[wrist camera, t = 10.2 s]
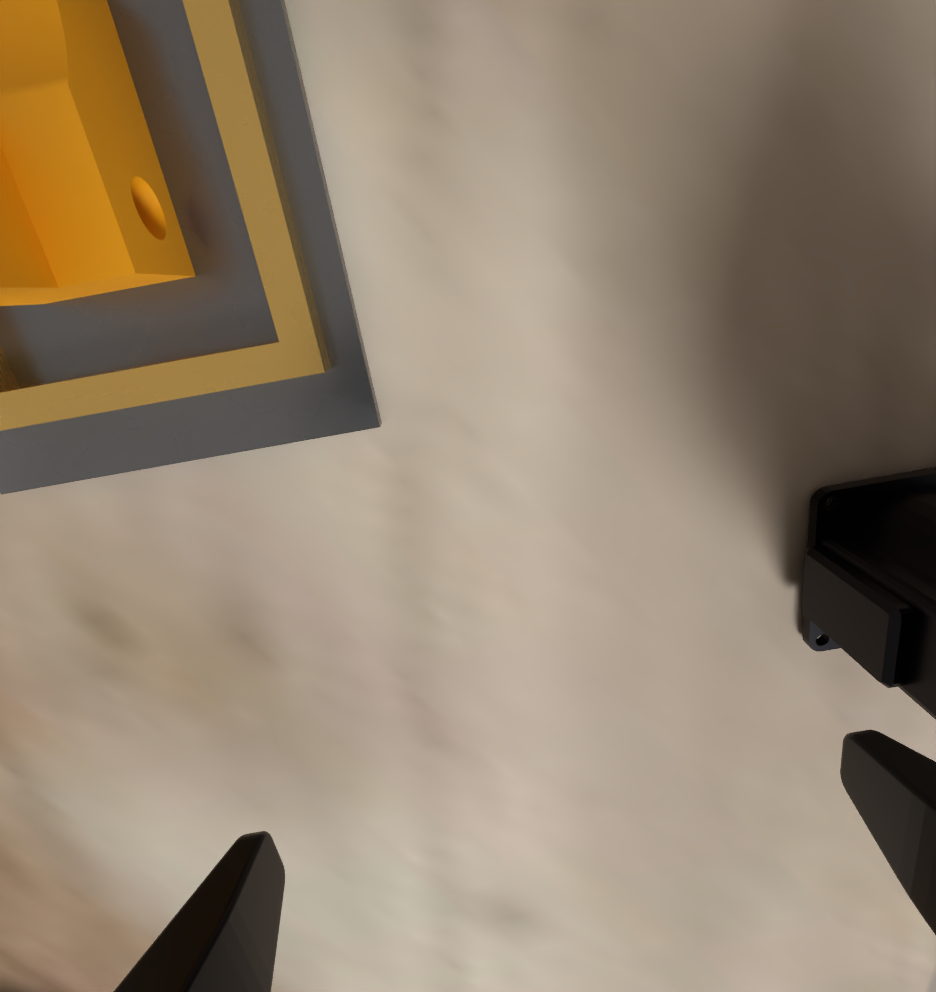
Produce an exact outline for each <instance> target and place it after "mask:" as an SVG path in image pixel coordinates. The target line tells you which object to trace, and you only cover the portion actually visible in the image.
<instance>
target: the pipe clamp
mask: <svg viewBox="0 0 936 992" xmlns="http://www.w3.org/2000/svg"><path fill="white" fill-rule="evenodd" d="M194 276H196V275H195V272H194V269H193V266H192V263H191V260H190V257H189V254H188V251H187V247H186V244H185V241H184V238H183V235H182V232H181V229H180V226H179V223H178V220H177V216H176V213H175V210H174V207H173V204H172V201H171V198H170V195H169V192H168V188H167V185H166V182H165V179H164V176H163V173H162V170H161V167H160V164H159V161H158V157H157V154H156V151H155V148H154V145H153V142H152V139H151V136H150V133H149V130H148V126H147V123H146V120H145V117H144V114H143V111H142V108H141V105H140V102H139V98H138V95H137V92H136V89H135V86H134V83H133V80H132V77H131V74H130V71H129V67H128V64H127V61H126V58H125V55H124V52H123V49H122V46H121V43H120V40H119V36H118V33H117V30H116V27H115V24H114V21H113V18H112V15H111V12H110V8H109V5H108V2H107V0H0V306H13V305H37V304H47V303H53V302H58V301H63V300H69V299H74V298H80V297H85V296H91V295H96V294H102V293H107V292H113V291H118V290H123V289H129V288H134V287H140V286H145V285H151V284H156V283H162V282H167V281H172V280H178V279H183V278H189V277H194Z"/></svg>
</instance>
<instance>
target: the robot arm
mask: <svg viewBox="0 0 936 992" xmlns="http://www.w3.org/2000/svg"><path fill="white" fill-rule="evenodd" d="M830 498H832V501H831V503H830V504H829V505H828V506H825V503H826V501H827V500H828V499H830ZM802 613H803V614H804V618H803V635H802V636H803V640H804V642H805V643H806V644H807V645H808V646H809V647H810V648H811V649H812V650H815V651H826V650H831V649H837V648H842V649H843V650H844V651H845V652H846V653H848V654H849V655H850V656H851V657H852V658H853V659H854V660H855V661H856V662H858V663H859V664H860V665H861V666H862V667H863V668H864V669H865V670H866V671H868V672H869V673H870V674H871V675H872V676H873V677H874V678H875V679H876V680H877V681H879V682H880V683H882V684H883V685H884V686H886V687H888V688H891V687H897V686H898V687H899V688H900V689H901V690H903V691H904V692H905V693H906V694H907V695H908V696H909V697H911V698H912V699H913V700H914V701H915V702H916V703H917V704H919V705H920V706H921V707H922V708H923V709H924V710H926V711H927V712H928V713H929V714H930V715H931V716H932V717H934V718H935V719H936V467H935V468H929V469H923V470H918V471H912V472H906V473H900V474H895V475H889V476H883V477H877V478H872V479H866V480H860V481H854V482H849V483H843V484H837V485H831V486H826V487H823V488H820V489H819V490H817V491H816V492H815V493H814V494H813V496H812V497H811V501H810V512H809V530H808V547H807V551H806V553H805V560H804V578H803V596H802ZM820 635H821V636H820ZM818 636H820V637H819V638H818V639H817V637H818ZM840 775H841V780H842V783H843V785H844V788H845V790H846V792H847V793H848V795H849V797H850V798H851V800H852V802H853V803H854V805H855V807H856V809H857V810H858V812H859V814H860V815H861V817H862V819H863V820H864V822H865V824H866V826H867V827H868V829H869V831H870V832H871V834H872V836H873V837H874V839H875V841H876V842H877V844H878V846H879V848H880V849H881V851H882V853H883V854H884V856H885V858H886V859H887V861H888V863H889V865H890V866H891V868H892V870H893V871H894V873H895V875H896V876H897V878H898V880H899V881H900V883H901V885H902V886H903V888H904V889H905V891H906V893H907V894H908V896H909V897H910V899H911V900H912V902H913V903H914V905H915V906H916V908H917V909H918V911H919V912H920V914H921V915H922V916H923V918H924V919H925V921H926V922H927V924H928V925H929V926H930V928H931V929H932V931H933V932H934V933H935V935H936V762H935V761H933V760H931V759H929V758H927V757H925V756H923V755H922V754H920V753H918V752H916V751H914V750H912V749H910V748H908V747H906V746H905V745H903V744H901V743H899V742H897V741H895V740H893V739H891V738H889V737H888V736H886V735H884V734H882V733H880V732H877V731H874V730H865V731H859V732H853V733H849V734H847V735H846V736H845V737H844V740H843V748H842V758H841V769H840ZM284 885H285V870H284V866H283V863H282V860H281V858H280V856H279V853H278V851H277V849H276V846H275V844H274V841H273V839H272V837H271V835H270V834H269V833H268V832H266V831H262V832H256V833H250V834H245V835H243V836H241V837H240V838H238V839H237V840H236V842H235V843H234V844H233V845H232V846H231V848H230V849H229V850H228V851H227V853H226V854H225V855H224V856H223V858H222V859H221V860H220V861H219V862H218V864H217V865H216V866H215V867H214V869H213V870H212V871H211V872H210V874H209V875H208V876H207V877H206V878H205V880H204V881H203V882H202V883H201V885H200V886H199V887H198V888H197V890H196V891H195V892H194V893H193V895H192V896H191V897H190V898H189V899H188V901H187V902H186V903H185V904H184V906H183V907H182V908H181V909H180V911H179V912H178V913H177V914H176V915H175V917H174V918H173V919H172V920H171V922H170V923H169V924H168V925H167V927H166V928H165V929H164V930H163V931H162V933H161V934H160V935H159V936H158V938H157V939H156V940H155V941H154V943H153V944H152V945H151V946H150V947H149V949H148V950H147V951H146V952H145V954H144V955H143V956H142V957H141V959H140V960H139V961H138V962H137V964H136V965H135V966H134V967H133V968H132V970H131V971H130V972H129V973H128V975H127V976H126V977H125V978H124V980H123V981H122V982H121V983H120V984H119V986H118V987H117V988H116V989H115V991H114V992H271V986H272V979H273V971H274V963H275V956H276V948H277V940H278V932H279V924H280V916H281V909H282V901H283V893H284Z"/></svg>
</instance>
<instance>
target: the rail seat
mask: <svg viewBox="0 0 936 992" xmlns="http://www.w3.org/2000/svg"><path fill="white" fill-rule="evenodd" d="M107 2H108V5H109V8H110V12H111V15H112V18H113V21H114V24H115V27H116V30H117V33H118V36H119V40H120V43H121V46H122V49H123V52H124V55H125V58H126V61H127V64H128V67H129V71H130V74H131V77H132V80H133V83H134V86H135V89H136V92H137V95H138V98H139V102H140V105H141V108H142V111H143V114H144V117H145V120H146V123H147V126H148V130H149V133H150V136H151V139H152V142H153V145H154V148H155V151H156V154H157V157H158V161H159V164H160V167H161V170H162V173H163V176H164V179H165V182H166V185H167V188H168V192H169V195H170V198H171V201H172V204H173V207H174V210H175V213H176V216H177V220H178V223H179V226H180V229H181V232H182V235H183V238H184V241H185V244H186V247H187V251H188V254H189V257H190V260H191V263H192V266H193V269H194V272H195V275H196V276H194V277H189V278H183V279H178V280H172V281H167V282H162V283H156V284H151V285H145V286H140V287H134V288H129V289H123V290H118V291H113V292H107V293H102V294H96V295H91V296H85V297H80V298H74V299H69V300H63V301H58V302H53V303H47V304H37V305H13V306H0V493H1V494H6V493H12V492H17V491H23V490H29V489H34V488H40V487H45V486H51V485H57V484H62V483H68V482H74V481H79V480H85V479H90V478H96V477H102V476H107V475H113V474H118V473H124V472H130V471H135V470H141V469H147V468H152V467H158V466H163V465H169V464H175V463H180V462H186V461H192V460H197V459H203V458H208V457H214V456H220V455H225V454H231V453H236V452H242V451H248V450H253V449H259V448H265V447H270V446H276V445H281V444H287V443H293V442H298V441H304V440H310V439H315V438H321V437H326V436H332V435H338V434H343V433H349V432H354V431H360V430H366V429H371V428H377V427H380V426H381V419H380V414H379V410H378V406H377V401H376V397H375V393H374V388H373V384H372V380H371V375H370V371H369V367H368V362H367V358H366V353H365V349H364V345H363V340H362V336H361V332H360V327H359V323H358V319H357V314H356V310H355V306H354V301H353V297H352V293H351V288H350V284H349V280H348V275H347V271H346V267H345V262H344V258H343V254H342V249H341V245H340V241H339V236H338V232H337V228H336V223H335V219H334V215H333V210H332V206H331V202H330V197H329V193H328V189H327V184H326V180H325V176H324V171H323V167H322V163H321V158H320V154H319V150H318V145H317V141H316V137H315V132H314V128H313V124H312V119H311V115H310V111H309V106H308V102H307V98H306V93H305V89H304V85H303V80H302V76H301V72H300V67H299V63H298V59H297V54H296V50H295V46H294V41H293V37H292V33H291V28H290V24H289V20H288V15H287V11H286V7H285V2H284V0H107Z"/></svg>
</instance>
